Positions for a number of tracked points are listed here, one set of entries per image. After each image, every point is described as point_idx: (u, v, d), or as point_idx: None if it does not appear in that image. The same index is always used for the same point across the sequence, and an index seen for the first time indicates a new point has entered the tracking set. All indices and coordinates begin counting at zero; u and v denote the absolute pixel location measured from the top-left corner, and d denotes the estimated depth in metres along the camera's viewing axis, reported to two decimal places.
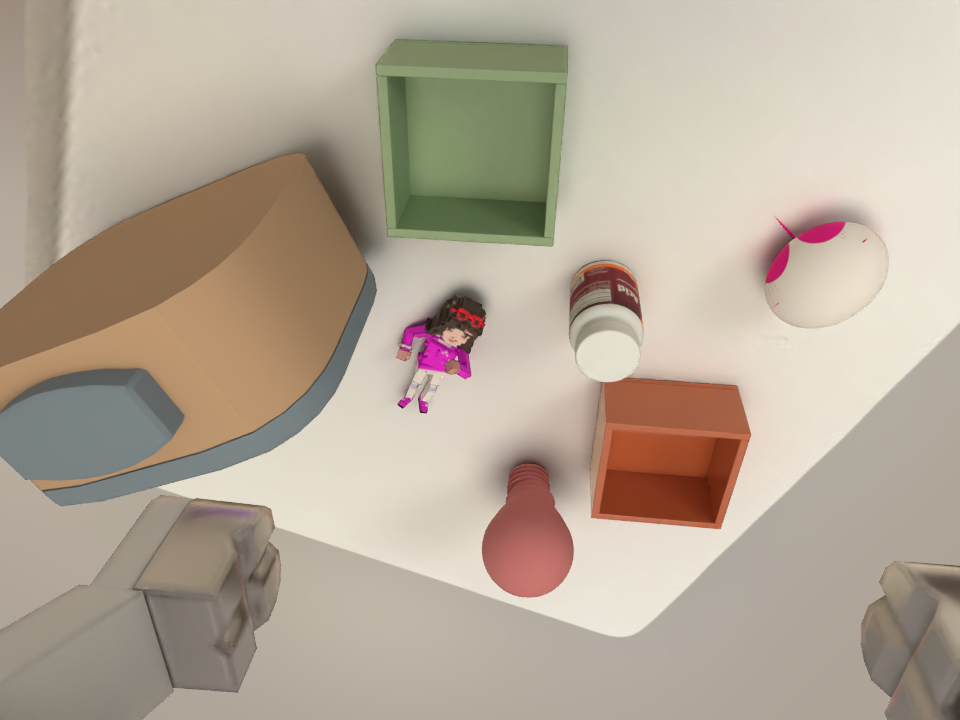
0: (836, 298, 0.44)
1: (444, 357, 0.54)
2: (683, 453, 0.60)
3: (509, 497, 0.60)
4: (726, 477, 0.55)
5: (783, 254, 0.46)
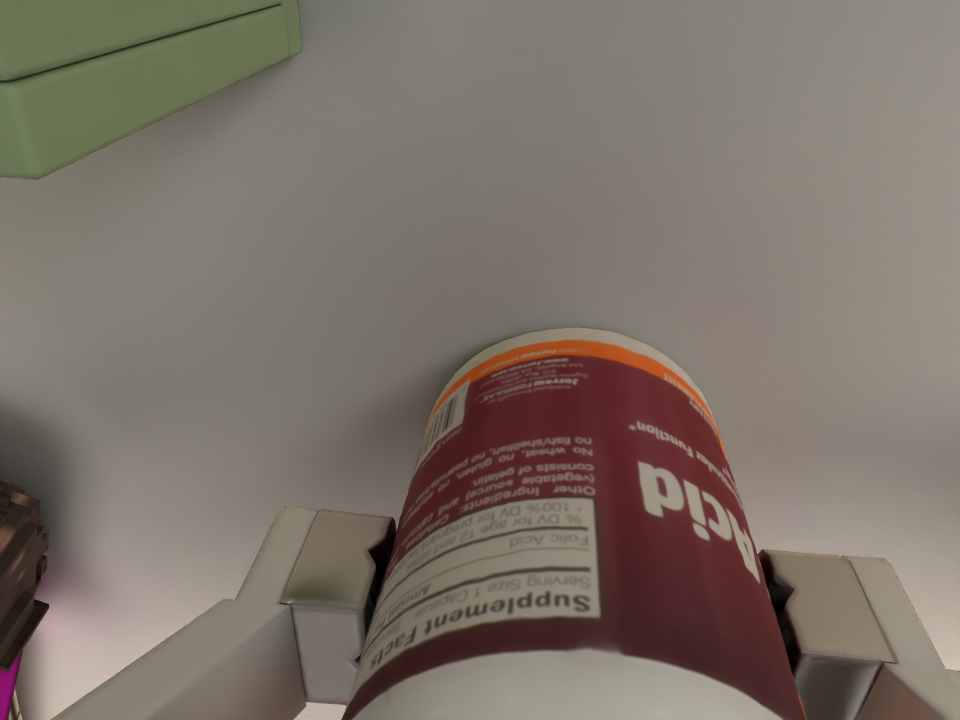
0: None
1: None
2: None
3: None
4: None
5: None
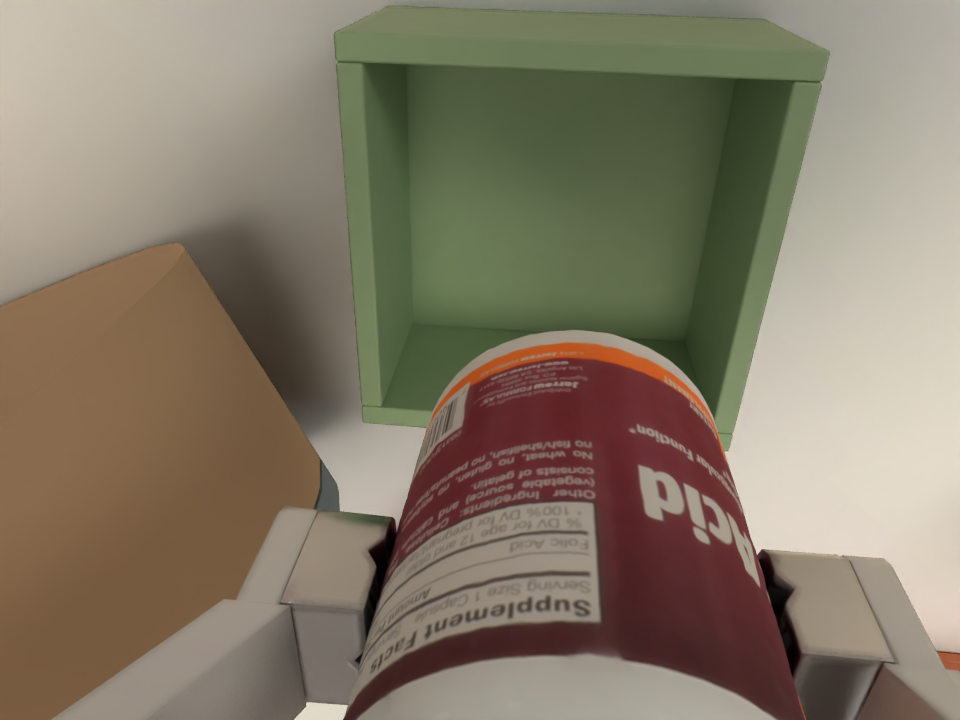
0: None
1: None
2: None
3: None
4: None
5: None
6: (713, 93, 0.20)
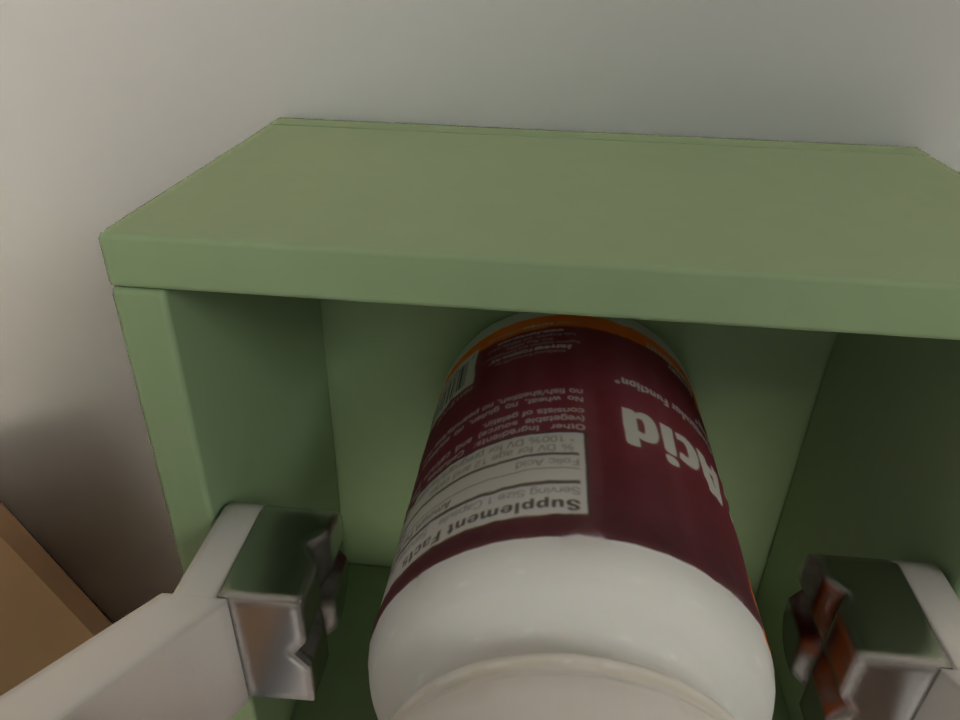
0: None
1: None
2: None
3: None
4: None
5: None
6: None
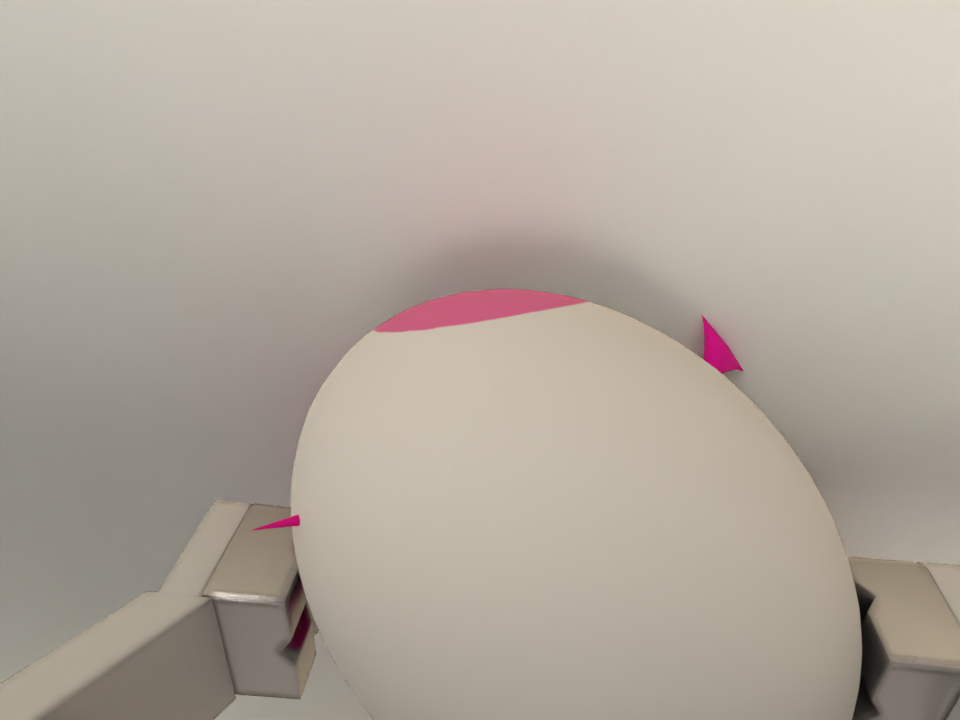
0: None
1: None
2: None
3: None
4: None
5: None
6: None
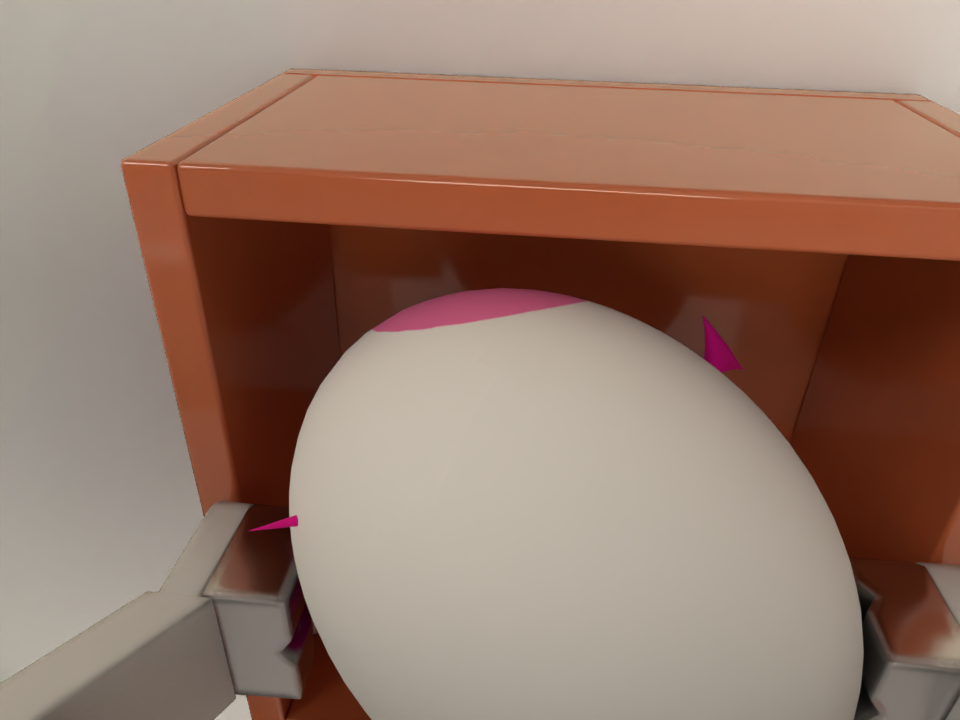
0: None
1: None
2: (691, 263, 0.13)
3: None
4: None
5: None
6: None
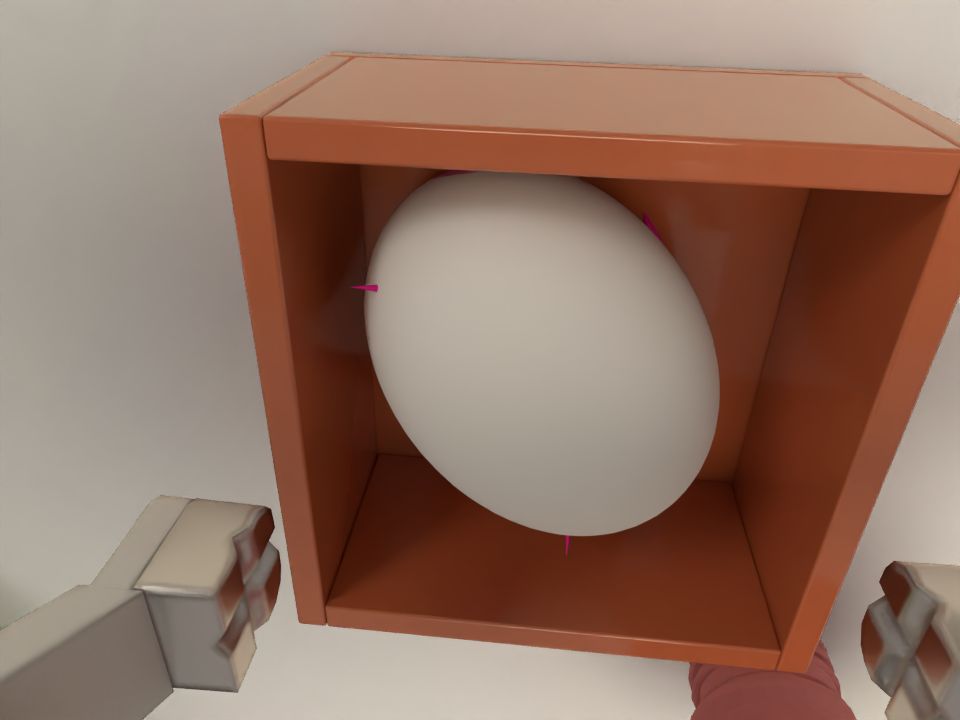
0: (528, 454, 0.11)
1: None
2: (671, 219, 0.15)
3: None
4: None
5: None
6: None
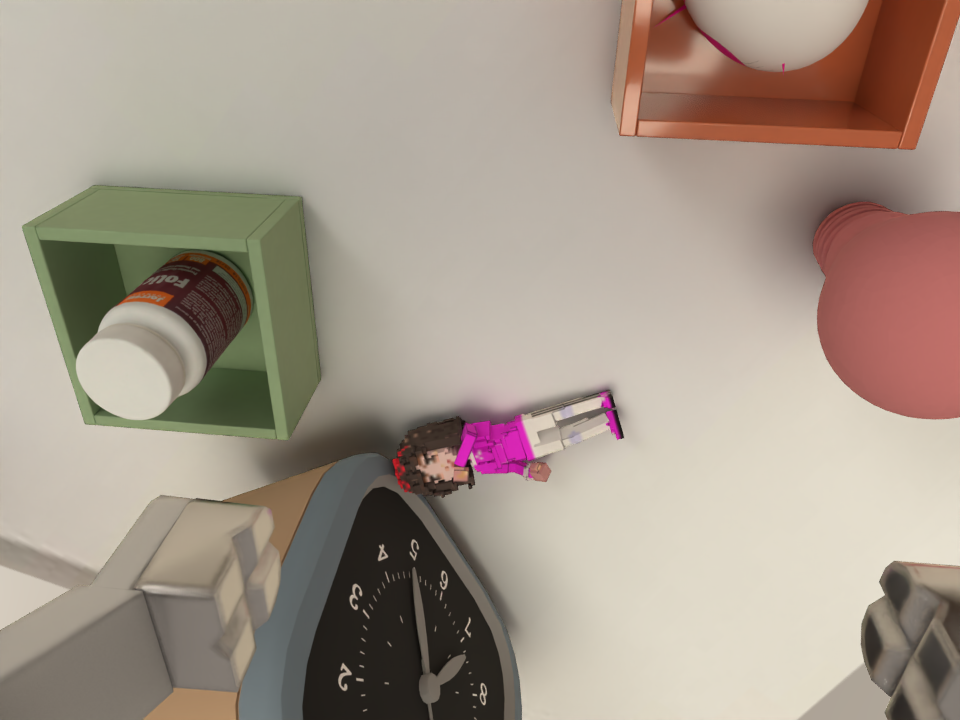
0: None
1: (485, 453, 0.38)
2: None
3: None
4: None
5: None
6: None
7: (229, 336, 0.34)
